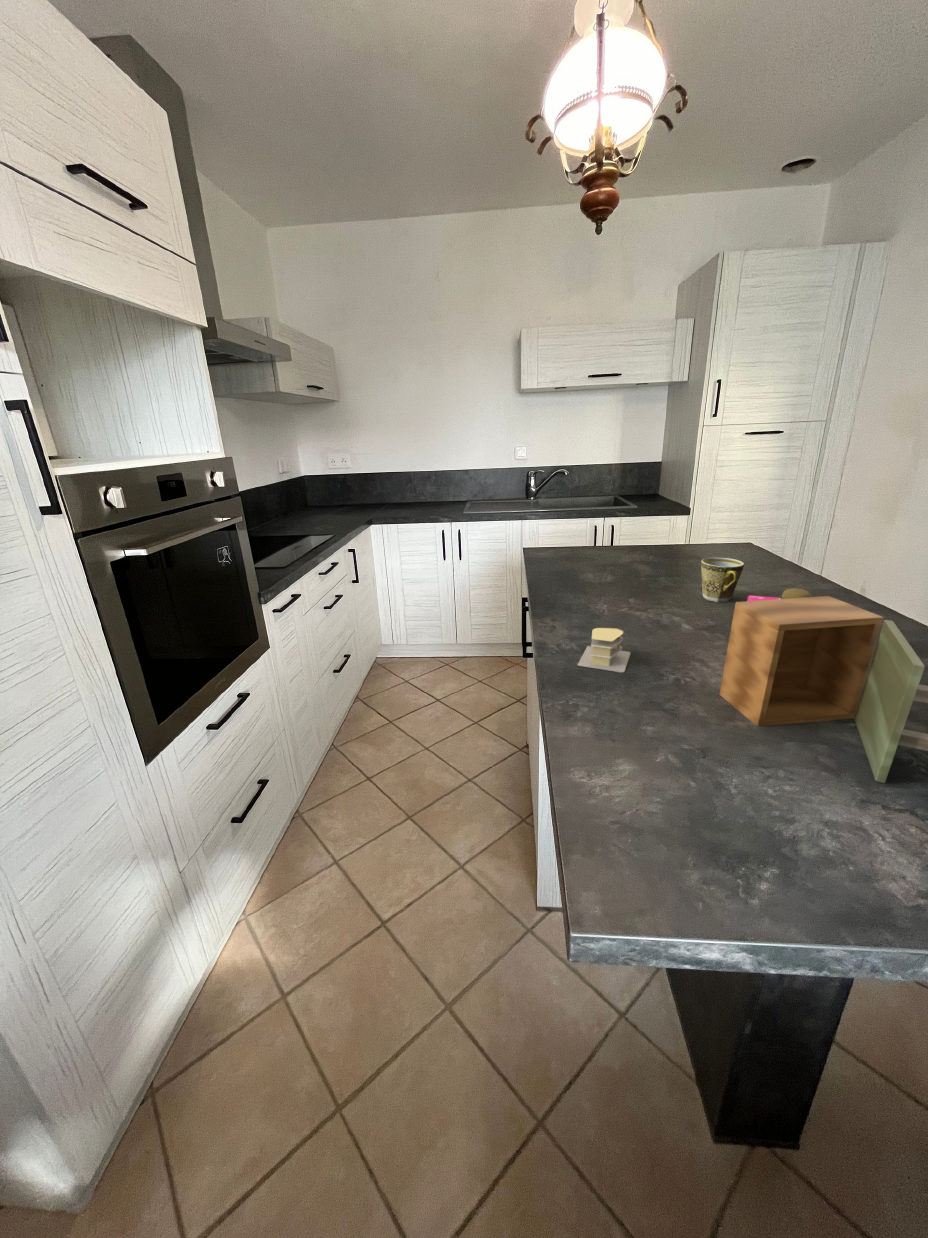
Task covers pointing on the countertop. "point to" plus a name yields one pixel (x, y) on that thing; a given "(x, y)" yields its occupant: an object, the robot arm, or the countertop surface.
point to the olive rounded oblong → (795, 593)
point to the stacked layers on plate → (605, 651)
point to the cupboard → (798, 659)
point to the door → (890, 701)
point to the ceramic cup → (720, 578)
